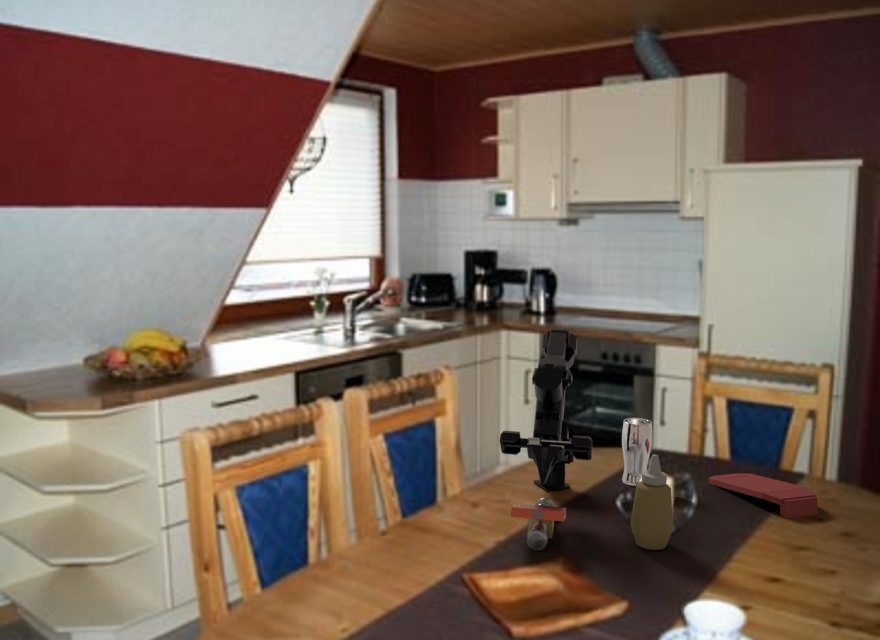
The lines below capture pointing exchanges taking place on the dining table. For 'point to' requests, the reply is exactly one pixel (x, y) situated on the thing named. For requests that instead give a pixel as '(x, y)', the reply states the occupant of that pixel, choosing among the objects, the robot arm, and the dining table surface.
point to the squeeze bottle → (652, 509)
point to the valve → (540, 529)
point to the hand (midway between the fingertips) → (542, 483)
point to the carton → (772, 493)
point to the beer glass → (635, 448)
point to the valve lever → (538, 512)
